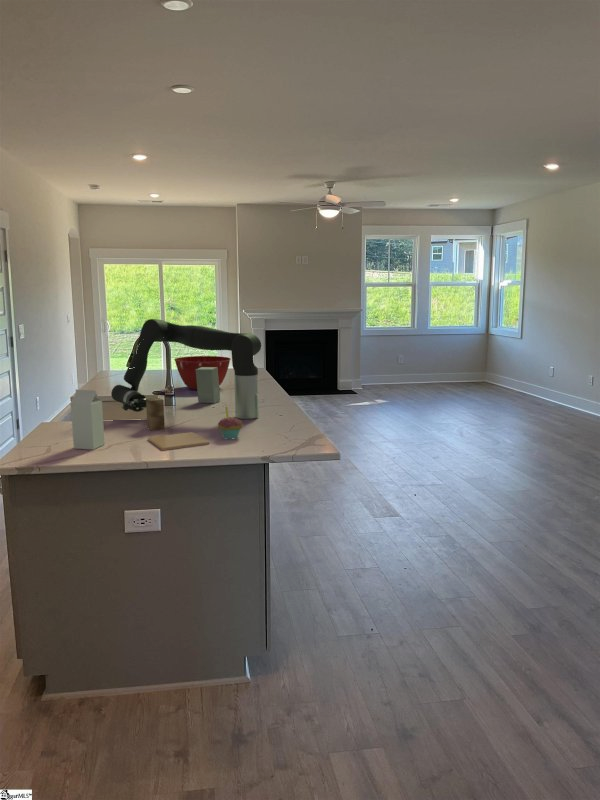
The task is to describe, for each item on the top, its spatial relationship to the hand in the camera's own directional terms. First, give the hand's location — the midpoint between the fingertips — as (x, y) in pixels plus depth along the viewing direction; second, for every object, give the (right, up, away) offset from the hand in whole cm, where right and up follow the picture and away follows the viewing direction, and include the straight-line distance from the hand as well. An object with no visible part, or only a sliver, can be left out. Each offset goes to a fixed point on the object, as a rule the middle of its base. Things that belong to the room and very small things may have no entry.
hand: (146, 407), depth 237 cm
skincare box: (+17, +2, +43) cm, 46 cm away
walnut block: (+6, -8, -8) cm, 13 cm away
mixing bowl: (+9, +9, +81) cm, 82 cm away
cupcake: (+35, -10, -22) cm, 42 cm away
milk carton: (-10, -13, -34) cm, 38 cm away
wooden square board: (+18, -11, -28) cm, 35 cm away
